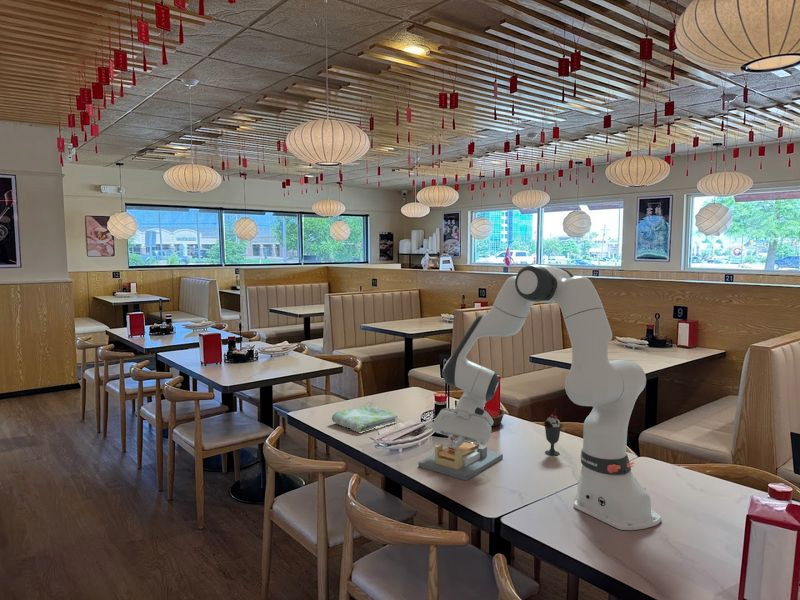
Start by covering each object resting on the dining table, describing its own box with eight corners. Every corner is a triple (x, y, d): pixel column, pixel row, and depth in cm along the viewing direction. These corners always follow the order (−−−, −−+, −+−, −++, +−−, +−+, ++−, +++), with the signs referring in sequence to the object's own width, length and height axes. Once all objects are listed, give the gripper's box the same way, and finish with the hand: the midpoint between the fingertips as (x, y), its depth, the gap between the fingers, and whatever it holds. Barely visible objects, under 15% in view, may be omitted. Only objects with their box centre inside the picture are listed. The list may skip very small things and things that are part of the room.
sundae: (560, 450, 189) (561, 408, 187) (564, 457, 182) (564, 413, 181) (540, 449, 189) (541, 407, 188) (544, 456, 182) (544, 413, 181)
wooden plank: (464, 439, 184) (439, 450, 173) (479, 443, 180) (454, 455, 169) (463, 444, 184) (439, 455, 173) (479, 448, 181) (454, 460, 169)
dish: (449, 424, 218) (449, 412, 218) (480, 413, 234) (480, 401, 234) (485, 434, 206) (485, 421, 206) (515, 421, 222) (516, 409, 222)
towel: (399, 423, 221) (399, 411, 220) (359, 435, 206) (359, 422, 206) (370, 414, 234) (370, 402, 233) (330, 425, 219) (330, 412, 219)
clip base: (457, 446, 192) (457, 427, 192) (502, 458, 181) (502, 438, 180) (418, 466, 175) (418, 445, 174) (465, 480, 163) (465, 458, 163)
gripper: (438, 401, 185) (421, 437, 178) (491, 412, 172) (475, 451, 165) (446, 411, 189) (429, 446, 182) (498, 423, 176) (482, 461, 169)
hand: (451, 449), depth 173 cm, fingers closed, pressing on wooden plank
